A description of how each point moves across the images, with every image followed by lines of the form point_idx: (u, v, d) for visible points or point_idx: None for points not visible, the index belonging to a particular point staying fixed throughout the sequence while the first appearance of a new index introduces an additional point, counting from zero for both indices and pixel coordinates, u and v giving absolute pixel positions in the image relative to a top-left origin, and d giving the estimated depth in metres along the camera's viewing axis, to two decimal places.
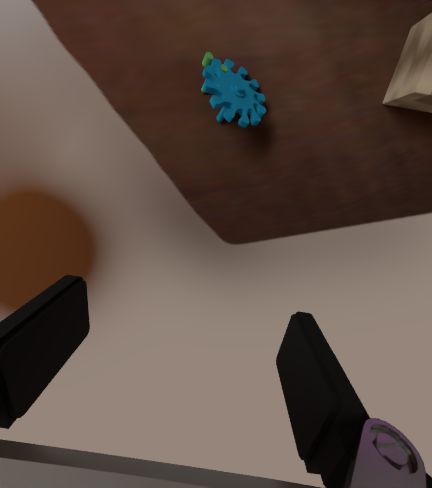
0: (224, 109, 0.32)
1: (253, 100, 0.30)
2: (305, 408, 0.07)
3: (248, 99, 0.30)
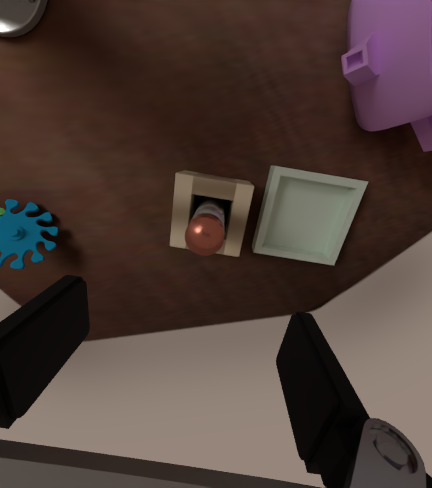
0: None
1: (37, 238, 0.31)
2: (305, 408, 0.07)
3: (29, 239, 0.30)
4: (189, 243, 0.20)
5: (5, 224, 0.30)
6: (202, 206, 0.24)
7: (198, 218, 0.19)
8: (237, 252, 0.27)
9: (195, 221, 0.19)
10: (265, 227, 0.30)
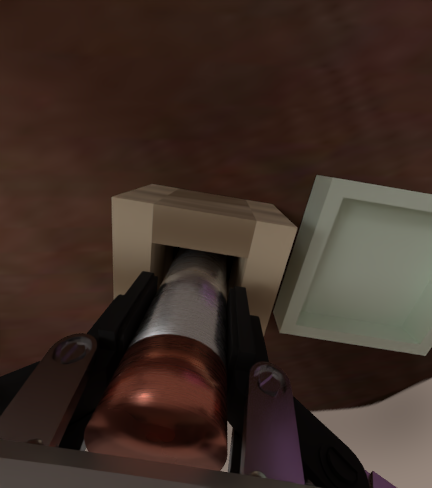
0: None
1: None
2: None
3: None
4: None
5: None
6: (174, 277, 0.10)
7: (130, 391, 0.05)
8: None
9: (115, 409, 0.05)
10: (304, 292, 0.16)
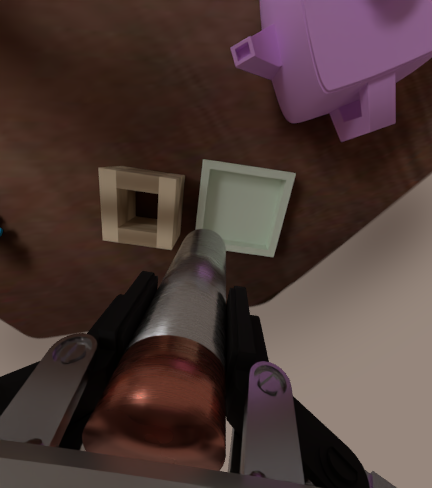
0: None
1: None
2: None
3: None
4: None
5: None
6: (173, 278, 0.10)
7: (128, 393, 0.05)
8: (169, 245, 0.28)
9: (114, 410, 0.05)
10: (201, 220, 0.30)
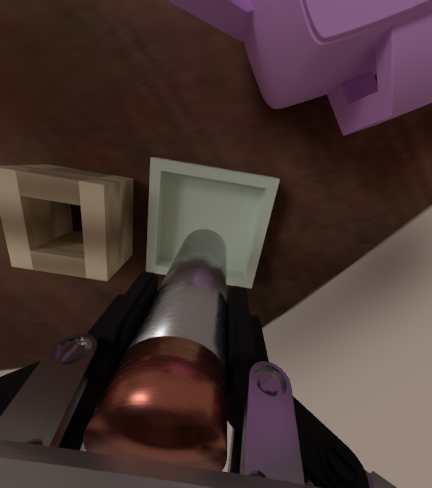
0: None
1: None
2: None
3: None
4: None
5: None
6: (174, 278, 0.10)
7: (129, 394, 0.05)
8: (103, 275, 0.20)
9: (115, 412, 0.05)
10: (154, 240, 0.22)
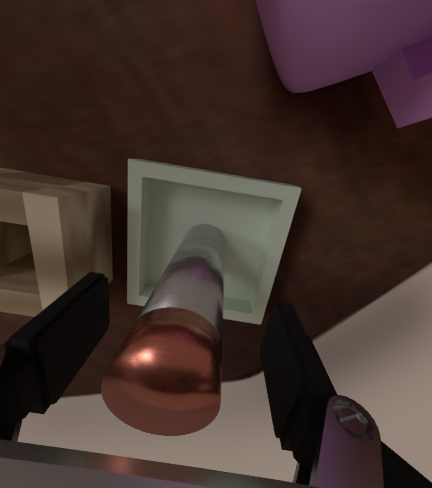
0: None
1: None
2: (281, 389, 0.07)
3: None
4: (118, 409, 0.07)
5: None
6: (176, 264, 0.11)
7: (139, 347, 0.06)
8: None
9: (128, 360, 0.06)
10: (136, 264, 0.17)
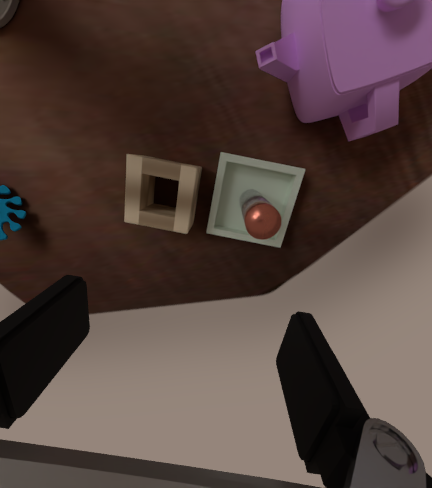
0: None
1: (4, 218, 0.34)
2: (305, 407, 0.07)
3: None
4: (248, 228, 0.22)
5: None
6: (252, 197, 0.26)
7: (259, 204, 0.21)
8: (185, 229, 0.30)
9: (257, 207, 0.21)
10: (215, 209, 0.32)
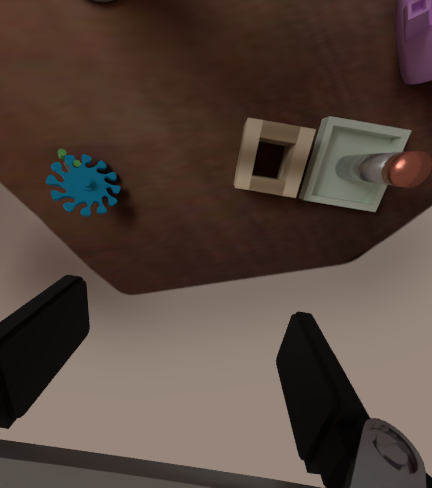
0: None
1: (103, 192, 0.35)
2: (305, 408, 0.07)
3: (97, 192, 0.35)
4: (397, 176, 0.23)
5: (80, 175, 0.34)
6: (375, 154, 0.27)
7: (410, 152, 0.22)
8: (294, 193, 0.31)
9: (409, 154, 0.22)
10: (316, 175, 0.33)
